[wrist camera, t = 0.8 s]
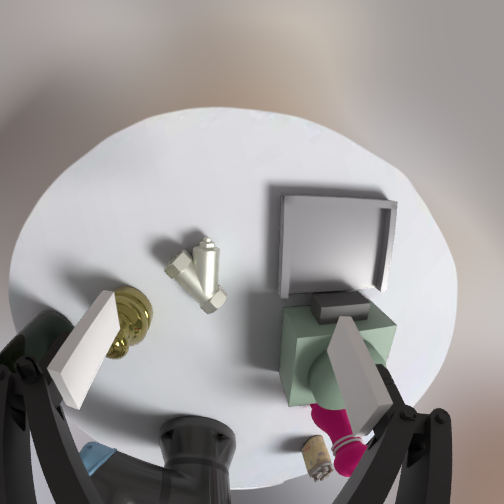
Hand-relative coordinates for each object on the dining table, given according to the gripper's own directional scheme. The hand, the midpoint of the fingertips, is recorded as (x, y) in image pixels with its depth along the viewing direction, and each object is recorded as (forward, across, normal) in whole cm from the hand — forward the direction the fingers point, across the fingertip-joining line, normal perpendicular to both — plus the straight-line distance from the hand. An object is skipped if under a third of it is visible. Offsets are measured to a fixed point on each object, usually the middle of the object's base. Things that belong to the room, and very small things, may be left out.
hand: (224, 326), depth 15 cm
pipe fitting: (+20, +3, +7) cm, 22 cm away
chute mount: (+21, -14, +2) cm, 26 cm away
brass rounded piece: (+18, +14, +14) cm, 27 cm away
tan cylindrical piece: (+16, -21, +46) cm, 53 cm away
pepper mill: (+18, -19, +29) cm, 39 cm away
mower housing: (+20, -15, +15) cm, 29 cm away
